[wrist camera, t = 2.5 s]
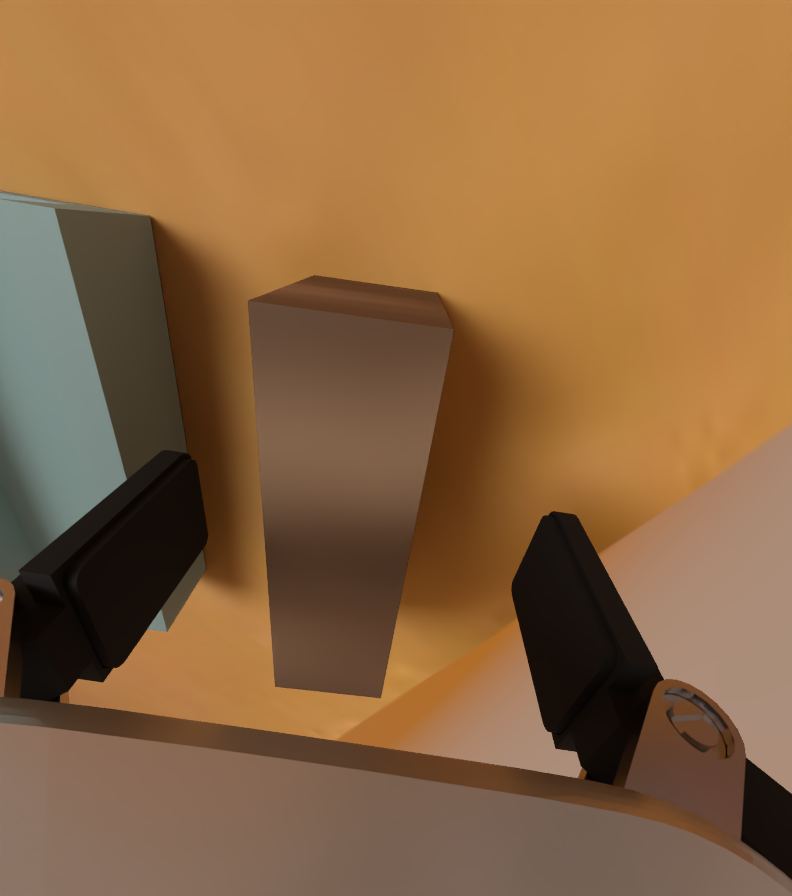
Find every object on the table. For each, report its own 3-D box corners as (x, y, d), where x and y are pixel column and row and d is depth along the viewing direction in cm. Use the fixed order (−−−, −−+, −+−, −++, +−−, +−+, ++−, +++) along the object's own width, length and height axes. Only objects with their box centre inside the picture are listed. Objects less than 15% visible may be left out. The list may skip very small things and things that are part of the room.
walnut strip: (389, 577, 17) (380, 698, 12) (311, 568, 16) (275, 686, 12) (436, 291, 11) (454, 329, 6) (315, 274, 11) (248, 300, 6)
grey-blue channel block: (206, 569, 16) (167, 631, 14) (33, 546, 16) (-40, 605, 14) (150, 215, 10) (54, 208, 7) (-147, 165, 9) (-360, 138, 7)
